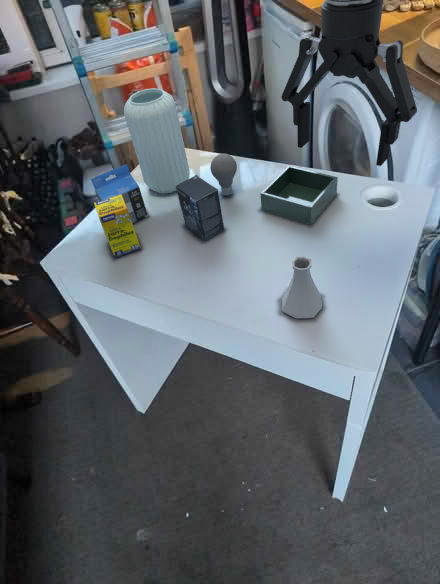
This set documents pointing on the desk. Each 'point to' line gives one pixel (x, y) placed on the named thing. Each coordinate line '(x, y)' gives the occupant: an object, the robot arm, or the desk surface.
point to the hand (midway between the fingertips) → (341, 152)
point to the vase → (157, 139)
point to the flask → (302, 291)
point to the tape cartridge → (121, 191)
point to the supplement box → (117, 225)
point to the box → (200, 207)
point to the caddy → (299, 194)
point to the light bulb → (224, 171)
